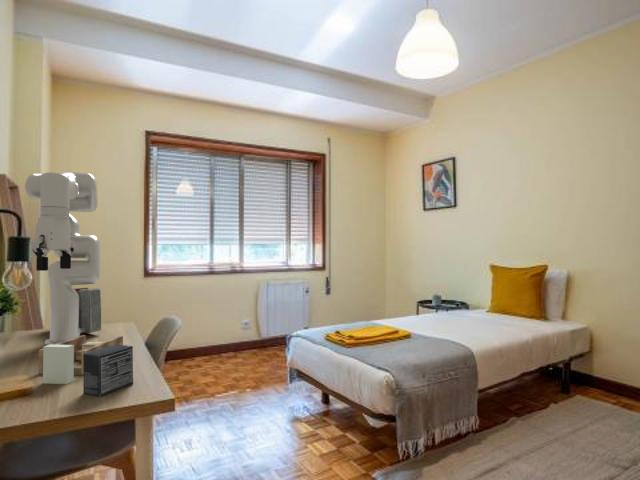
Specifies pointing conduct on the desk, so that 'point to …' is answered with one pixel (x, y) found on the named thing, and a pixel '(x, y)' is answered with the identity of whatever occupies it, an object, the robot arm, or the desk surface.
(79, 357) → the offcut
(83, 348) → the offcut
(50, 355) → the white box
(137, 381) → the desk surface
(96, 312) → the decorative stone tablet
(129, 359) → the small box
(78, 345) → the rack
